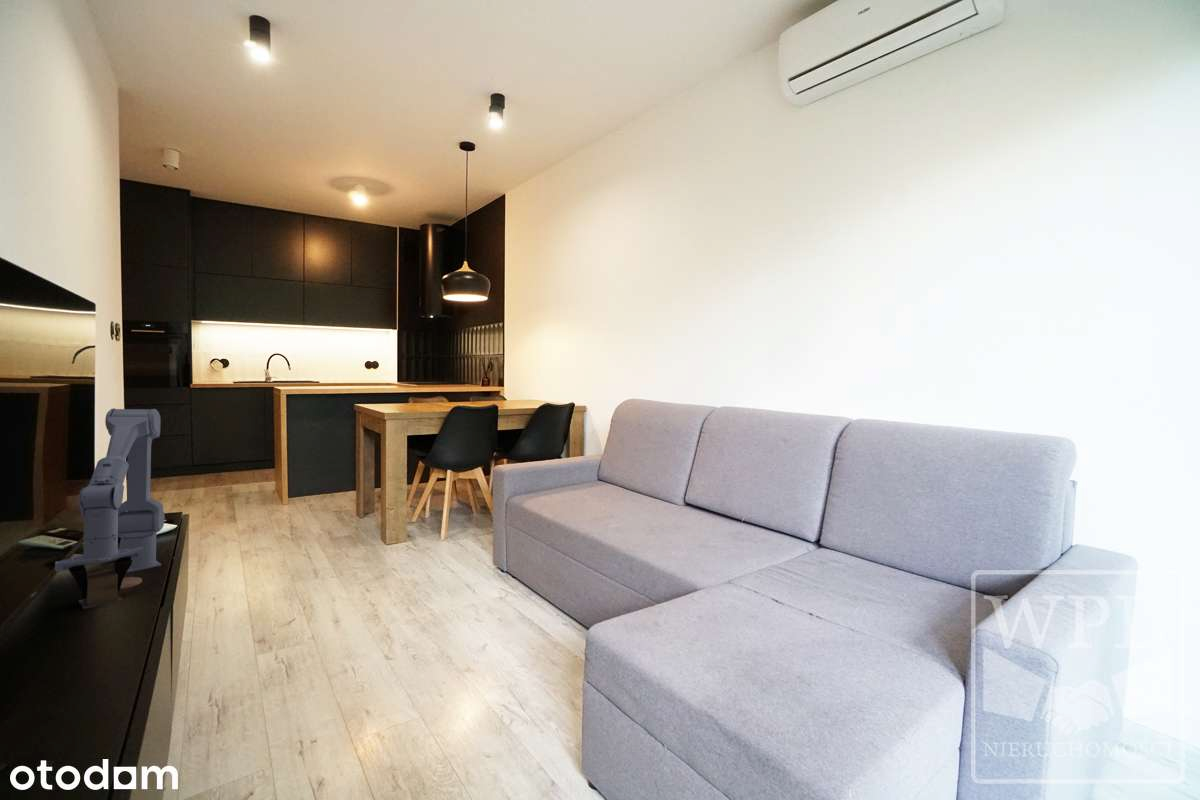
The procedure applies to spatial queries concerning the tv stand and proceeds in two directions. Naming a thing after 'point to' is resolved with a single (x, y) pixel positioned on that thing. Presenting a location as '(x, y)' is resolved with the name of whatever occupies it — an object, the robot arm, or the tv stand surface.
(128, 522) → the robot arm
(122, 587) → the coaster
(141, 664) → the tv stand surface
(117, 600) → the board
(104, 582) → the walnut block
